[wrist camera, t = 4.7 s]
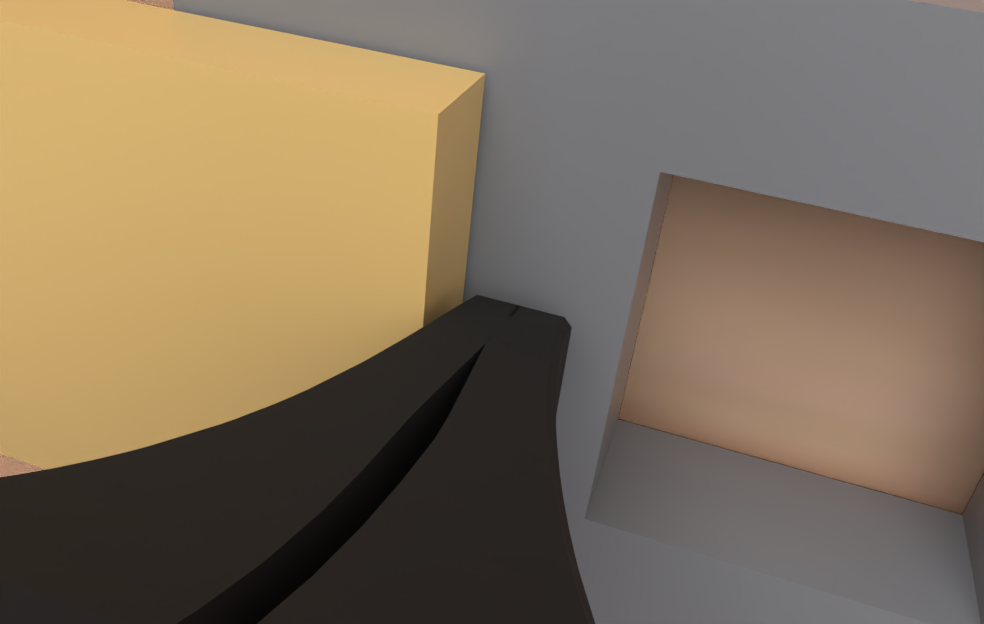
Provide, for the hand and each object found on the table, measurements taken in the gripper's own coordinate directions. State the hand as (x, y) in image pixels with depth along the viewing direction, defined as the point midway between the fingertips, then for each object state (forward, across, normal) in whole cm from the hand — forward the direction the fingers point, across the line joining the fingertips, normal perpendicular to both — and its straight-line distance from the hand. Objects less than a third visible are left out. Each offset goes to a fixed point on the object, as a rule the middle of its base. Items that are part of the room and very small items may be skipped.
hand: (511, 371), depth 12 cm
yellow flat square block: (+1, +4, 0) cm, 4 cm away
